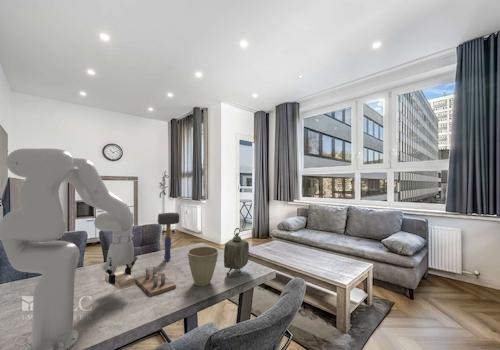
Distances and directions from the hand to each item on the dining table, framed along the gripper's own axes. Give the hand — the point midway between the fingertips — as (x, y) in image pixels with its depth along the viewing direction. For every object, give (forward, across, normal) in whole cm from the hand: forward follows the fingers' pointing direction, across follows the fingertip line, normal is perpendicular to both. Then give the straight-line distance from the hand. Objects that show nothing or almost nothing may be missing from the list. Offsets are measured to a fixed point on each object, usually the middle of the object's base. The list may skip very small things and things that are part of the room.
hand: (119, 280), depth 100 cm
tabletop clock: (+6, -46, +33) cm, 57 cm away
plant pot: (+6, -27, +24) cm, 37 cm away
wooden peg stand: (+6, -15, +5) cm, 17 cm away
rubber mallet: (+5, -43, -15) cm, 46 cm away
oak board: (+1, 0, 0) cm, 1 cm away
